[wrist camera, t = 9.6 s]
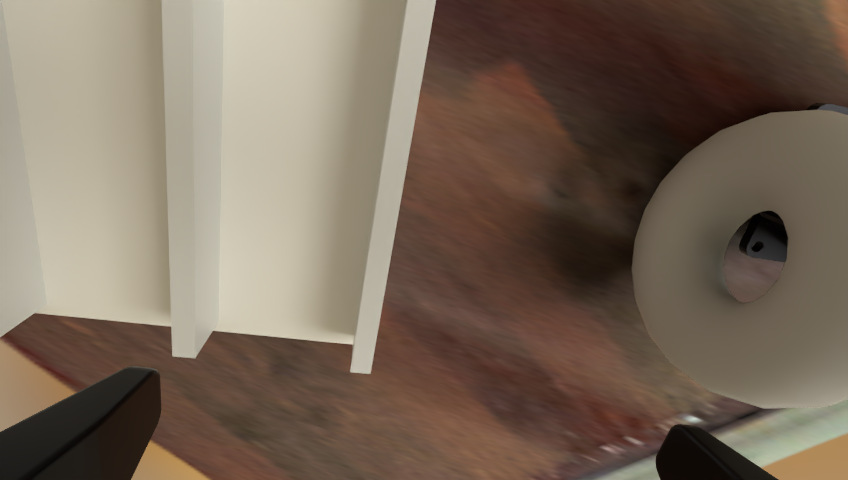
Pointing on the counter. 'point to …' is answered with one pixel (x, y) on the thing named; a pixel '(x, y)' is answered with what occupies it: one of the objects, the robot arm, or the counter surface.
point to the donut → (800, 277)
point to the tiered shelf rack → (207, 163)
